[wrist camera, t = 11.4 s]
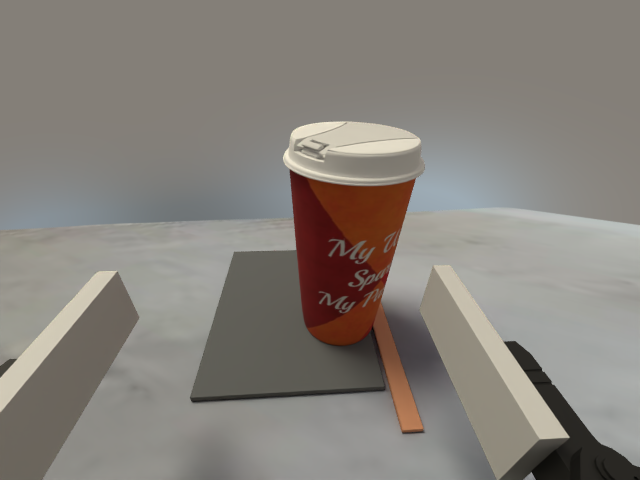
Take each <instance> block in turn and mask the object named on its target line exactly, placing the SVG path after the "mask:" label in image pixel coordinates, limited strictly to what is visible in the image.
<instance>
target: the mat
mask: <svg viewBox="0 0 640 480" xmlns="http://www.w3.org/2000/svg"><path fill="white" fill-rule="evenodd" d="M384 388H385V385H384V381H383V378H382V374H381V370H380V366H379V362H378V359H377V355H376V351H375V347H374V344H373V340H372V336H371V332H369V334H368V335H367V336H366V337H365V338H364V339H363V340H361V341H359V342H357V343H355V344H352V345H346V346H336V345H330V344H327V343H324V342H322V341H320V340H318V339H317V338H315V337H314V336H313V335H312V334H311V333H310V332H309V331H308V329H307V328H306V325H305V322H304V318H303V312H302V303H301V293H300V283H299V272H298V261H297V250H292V251H250V252H234V254H233V258H232V261H231V264H230V267H229V271H228V274H227V277H226V281H225V284H224V287H223V291H222V294H221V297H220V300H219V304H218V307H217V310H216V314H215V317H214V320H213V324H212V327H211V330H210V333H209V337H208V340H207V343H206V347H205V350H204V353H203V357H202V360H201V363H200V367H199V370H198V373H197V376H196V380H195V383H194V386H193V390H192V393H191V396H190V399H191V401H203V400H220V399H237V398H254V397H271V396H287V395H304V394H321V393H338V392H355V391H372V390H384Z"/></svg>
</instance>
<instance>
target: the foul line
mask: <svg viewBox="0 0 640 480" xmlns="http://www.w3.org/2000/svg"><path fill="white" fill-rule="evenodd" d="M373 330H374V334H375V337H376V341H377V344H378V348H379V352H380V355H381V359H382V362H383V366H384V370H385V373H386V377H387V380H388V384H389V388H390V391H391V395H392V398H393V402H394V406H395V409H396V413H397V416H398V420H399V424H400V427H401V431H402V433H404V432H419V431H423V429H424V428H423V426H422V423H421V420H420V417H419V414H418V411H417V408H416V405H415V402H414V399H413V396H412V393H411V390H410V387H409V384H408V381H407V378H406V375H405V372H404V369H403V366H402V363H401V360H400V357H399V354H398V351H397V348H396V345H395V342H394V340H393V337H392V334H391V331H390V328H389V325H388V322H387V319H386V316H385V313H384V310H383V307H382V304H381V301H380V305H379V308H378V311H377V314H376V317H375V321H374V323H373Z"/></svg>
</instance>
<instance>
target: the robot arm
mask: <svg viewBox="0 0 640 480" xmlns="http://www.w3.org/2000/svg"><path fill="white" fill-rule="evenodd" d="M420 313H421V315H422V317H423V319H424V321H425V324H426V326H427V328H428V330H429V332H430V335H431V337H432V339H433V341H434V343H435V346H436V348H437V350H438V352H439V354H440V357H441V359H442V361H443V363H444V365H445V367H446V370H447V372H448V374H449V376H450V378H451V381H452V383H453V385H454V387H455V389H456V392H457V394H458V396H459V398H460V400H461V403H462V405H463V407H464V409H465V411H466V414H467V416H468V418H469V420H470V422H471V424H472V427H473V429H474V431H475V433H476V435H477V438H478V440H479V442H480V444H481V446H482V449H483V451H484V453H485V455H486V457H487V460H488V462H489V464H490V466H491V468H492V471H493V473H494V475H495V477H496V479H497V480H523V479H524V478H525V477H526V476H527V475H528V474H530V473H531V472H532V474H533V475H534V477H535V479H536V480H640V467H637V466H634V465H632V464H631V463H630V462H629V461H628V460H627V459H626V458H625V457H624V456H622V455H621V454H619V453H618V452H616V451H615V450H613V449H612V448H609V447H607V446H604V445H602V444H600V443H599V442H598V441H597V440H596V439H595V438H594V436H593V435H592V434H591V433H590V432H589V430H588V429H587V428H586V426H585V425H584V424H583V422H582V421H581V420H580V418H579V417H578V416H577V414H576V413H575V412H574V411H573V409H572V408H571V407H570V405H569V404H568V403H567V401H566V400H565V399H564V397H563V396H562V395H561V393H560V392H559V391H558V389H557V388H556V387H555V385H552V383H551V382H552V381H551V380H550V379H549V377H548V376H547V375H546V374H545V372H543V371H542V368H541V367H540V366H539V364H538V363H537V362H536V360H535V359H534V358H533V356H532V355H531V354H530V353H529V352H528V351H527V350H525V349H524V348H523V347H522V346H520V345H519V344H518V343H517V342H516V341H508V342H503V341H502V339H501V338H500V336H499V335H498V333H497V332H496V331H495V329H494V328H493V326H492V325H491V323H490V322H489V320H488V319H487V318H486V316H485V315H484V313H483V312H482V310H481V309H480V307H479V306H478V305H477V303H476V302H475V300H474V299H473V297H472V296H471V295H470V293H469V292H468V290H467V289H466V287H465V286H464V284H463V283H462V282H461V280H460V279H459V277H458V276H457V274H456V273H455V271H454V270H453V269H452V267H451V266H450V265H441V266H433V267H432V271H431V274H430V277H429V280H428V284H427V287H426V290H425V293H424V297H423V300H422V303H421V306H420ZM138 319H139V315H138V313H137V311H136V309H135V307H134V305H133V303H132V301H131V299H130V297H129V294H128V292H127V290H126V288H125V286H124V284H123V282H122V280H121V278H120V276H119V273H118V271H98V272H97V273H96V274H95V275H94V276H93V277H92V278H91V279H90V280H89V281H88V283H87V284H86V285H85V286H84V287H83V288H82V289H81V290H80V291H79V292H78V293H77V295H76V296H75V297H74V298H73V299H72V300H71V301H70V302H69V303H68V304H67V306H66V307H65V308H64V309H63V310H62V311H61V312H60V313H59V314H58V315H57V316H56V318H55V319H54V320H53V321H52V322H51V323H50V324H49V325H48V326H47V327H46V328H45V330H44V331H43V332H42V333H41V334H40V335H39V336H38V337H37V338H36V339H35V340H34V342H33V343H32V344H31V345H30V346H29V347H28V348H27V349H26V350H25V351H24V352H23V354H22V355H21V356H20V357H19V358H18V359H9V360H8V361H7V362H5V363H4V364H2V365H1V366H0V480H42V479H43V477H44V476H45V474H46V472H47V471H48V469H49V467H50V466H51V464H52V462H53V461H54V459H55V457H56V456H57V454H58V452H59V451H60V449H61V447H62V446H63V444H64V442H65V441H66V439H67V437H68V436H69V434H70V432H71V431H72V429H73V427H74V426H75V424H76V422H77V421H78V419H79V417H80V416H81V414H82V412H83V411H84V409H85V407H86V406H87V404H88V402H89V401H90V399H91V397H92V396H93V394H94V392H95V391H96V389H97V388H98V386H99V384H100V383H101V381H102V379H103V378H104V376H105V374H106V373H107V371H108V369H109V368H110V366H111V364H112V363H113V361H114V359H115V358H116V356H117V354H118V353H119V351H120V349H121V348H122V346H123V344H124V343H125V341H126V339H127V338H128V336H129V334H130V333H131V331H132V329H133V328H134V326H135V324H136V323H137V321H138Z"/></svg>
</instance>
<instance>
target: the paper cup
mask: <svg viewBox="0 0 640 480" xmlns="http://www.w3.org/2000/svg"><path fill="white" fill-rule="evenodd" d="M283 161H284V164H285V165H286V166H287V167H288V168H289V169H290V178H291V191H292V203H293V214H294V226H295V238H296V249H297V261H298V272H299V283H300V293H301V303H302V312H303V318H304V322H305V325H306V328H307V329H308V331H309V332H310V333H311V334H312V335H313V336H314V337H315V338H317V339H318V340H320V341H322V342H324V343H327V344H330V345H336V346H346V345H352V344H355V343H357V342H359V341H361V340H363V339H364V338H365V337H366V336H367V335H368V334H369V332H370V330H371V329H372V326H373V323H374V321H375V317H376V314H377V311H378V308H379V305H380V301H381V298H382V294H383V291H384V288H385V284H386V281H387V277H388V274H389V270H390V267H391V263H392V260H393V256H394V253H395V249H396V246H397V242H398V239H399V235H400V232H401V228H402V225H403V221H404V218H405V214H406V211H407V207H408V204H409V200H410V197H411V193H412V190H413V186H414V183H415V179H416V178H417V177H419V176H420V175H421V174H422V173H423V172H424V170H425V164H424V160H423V159H422V157H421V141H420V139H419V138H418V137H417V136H415V135H414V134H412V133H410V132H408V131H405V130H402V129H399V128H394V127H389V126H385V125H379V124H371V123H360V122H323V123H314V124H309V125H305V126H301V127H299V128H297V129H295V130H294V131H293V132H292V134H291V137H290V145H289V148H288V149H287V150H286V152H285V154H284V156H283Z"/></svg>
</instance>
